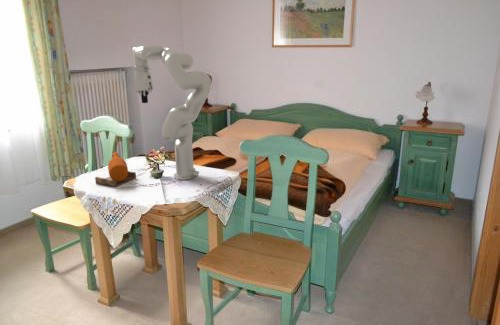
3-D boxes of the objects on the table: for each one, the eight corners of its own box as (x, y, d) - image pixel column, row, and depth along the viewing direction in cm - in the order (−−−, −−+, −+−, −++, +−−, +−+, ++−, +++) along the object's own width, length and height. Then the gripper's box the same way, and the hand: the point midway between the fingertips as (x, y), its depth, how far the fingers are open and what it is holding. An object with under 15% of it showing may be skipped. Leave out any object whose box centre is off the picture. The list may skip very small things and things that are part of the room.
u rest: (136, 178, 214) (135, 172, 213) (115, 187, 201) (114, 181, 200) (117, 175, 220) (116, 169, 219) (95, 183, 207) (95, 177, 206)
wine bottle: (108, 166, 199) (105, 146, 225) (109, 183, 202) (106, 162, 228) (128, 164, 202) (123, 145, 228) (129, 181, 206) (124, 161, 232)
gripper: (156, 69, 215) (159, 102, 220) (136, 69, 221) (139, 101, 227) (147, 70, 208) (150, 104, 214) (126, 70, 215) (130, 103, 220)
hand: (145, 102), depth 220 cm, fingers closed
